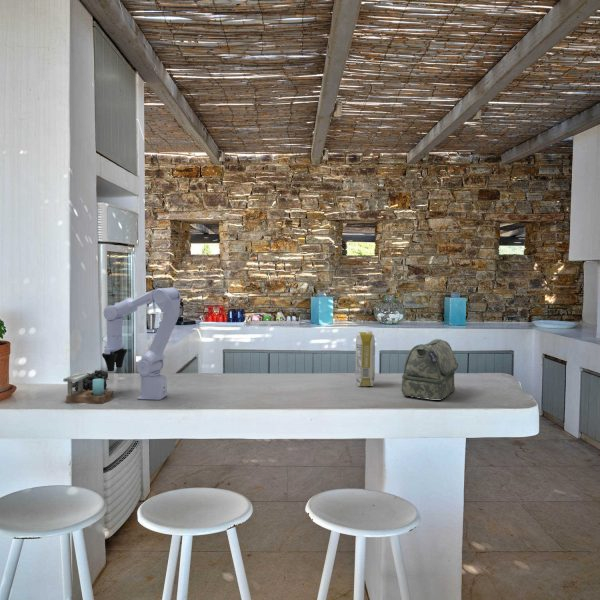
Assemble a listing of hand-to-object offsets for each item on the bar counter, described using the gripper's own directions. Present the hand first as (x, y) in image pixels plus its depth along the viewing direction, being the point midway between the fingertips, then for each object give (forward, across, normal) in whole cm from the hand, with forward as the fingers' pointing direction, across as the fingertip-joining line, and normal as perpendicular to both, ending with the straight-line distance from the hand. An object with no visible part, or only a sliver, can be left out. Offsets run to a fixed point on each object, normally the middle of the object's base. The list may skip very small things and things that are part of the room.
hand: (115, 369), depth 222 cm
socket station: (+10, +11, -5) cm, 16 cm away
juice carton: (+10, -29, +100) cm, 105 cm away
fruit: (+10, -4, -12) cm, 16 cm away
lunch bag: (+10, -16, +126) cm, 127 cm away
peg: (+10, +11, -2) cm, 15 cm away
